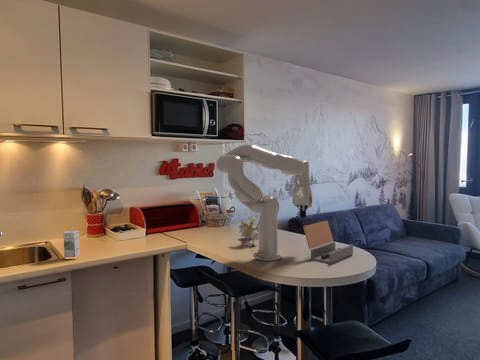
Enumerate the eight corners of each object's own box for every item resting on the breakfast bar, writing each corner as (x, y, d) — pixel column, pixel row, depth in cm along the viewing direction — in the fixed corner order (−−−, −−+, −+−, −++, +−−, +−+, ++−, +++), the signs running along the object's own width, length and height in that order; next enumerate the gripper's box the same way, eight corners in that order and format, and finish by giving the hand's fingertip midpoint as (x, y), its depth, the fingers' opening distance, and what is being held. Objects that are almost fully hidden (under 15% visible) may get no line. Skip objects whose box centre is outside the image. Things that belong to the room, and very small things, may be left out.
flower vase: (243, 248, 216) (242, 248, 192) (237, 220, 220) (236, 216, 196) (263, 244, 217) (265, 243, 192) (256, 216, 221) (258, 212, 196)
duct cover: (304, 225, 168) (302, 226, 168) (310, 248, 166) (309, 249, 166) (327, 220, 183) (326, 220, 184) (333, 241, 181) (332, 241, 182)
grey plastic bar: (324, 259, 163) (324, 255, 163) (321, 258, 164) (321, 254, 164) (342, 251, 176) (342, 248, 176) (339, 251, 177) (339, 247, 177)
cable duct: (330, 264, 158) (330, 253, 158) (310, 259, 166) (310, 249, 166) (352, 254, 174) (352, 244, 174) (333, 250, 182) (333, 241, 181)
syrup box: (80, 256, 180) (79, 229, 179) (75, 259, 174) (74, 232, 173) (69, 256, 180) (68, 230, 179) (64, 260, 174) (63, 232, 173)
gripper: (286, 183, 183) (287, 217, 185) (310, 184, 173) (311, 219, 174) (294, 182, 189) (295, 215, 190) (318, 183, 178) (318, 217, 179)
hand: (303, 217), depth 182 cm, fingers closed
